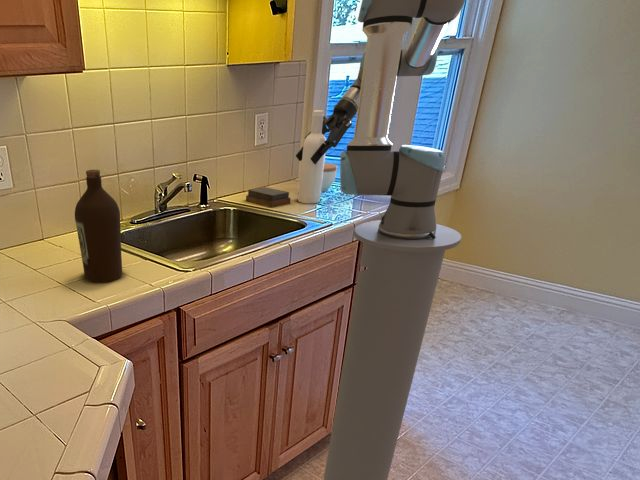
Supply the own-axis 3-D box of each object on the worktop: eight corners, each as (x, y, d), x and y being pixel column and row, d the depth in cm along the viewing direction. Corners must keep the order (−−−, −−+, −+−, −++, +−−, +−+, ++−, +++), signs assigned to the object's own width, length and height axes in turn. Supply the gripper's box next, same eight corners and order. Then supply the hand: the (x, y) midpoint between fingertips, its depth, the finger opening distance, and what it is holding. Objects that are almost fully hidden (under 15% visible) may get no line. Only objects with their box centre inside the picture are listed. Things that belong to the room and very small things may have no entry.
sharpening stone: (290, 203, 182) (291, 192, 180) (271, 207, 178) (272, 195, 176) (263, 197, 193) (264, 186, 191) (245, 200, 189) (246, 189, 187)
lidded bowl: (329, 185, 205) (332, 157, 200) (339, 192, 194) (343, 162, 189) (298, 187, 205) (301, 158, 200) (306, 193, 194) (309, 163, 189)
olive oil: (120, 266, 130) (112, 165, 118) (128, 280, 122) (120, 172, 109) (80, 271, 128) (66, 169, 116) (85, 286, 119) (71, 176, 107)
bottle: (312, 197, 188) (321, 109, 173) (324, 202, 182) (335, 110, 167) (293, 200, 186) (301, 110, 171) (305, 204, 180) (315, 111, 165)
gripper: (375, 115, 167) (329, 171, 170) (334, 112, 183) (293, 163, 186) (365, 98, 162) (318, 156, 165) (324, 96, 179) (282, 149, 182)
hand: (305, 159), depth 176 cm, fingers closed on bottle, 8 cm apart
